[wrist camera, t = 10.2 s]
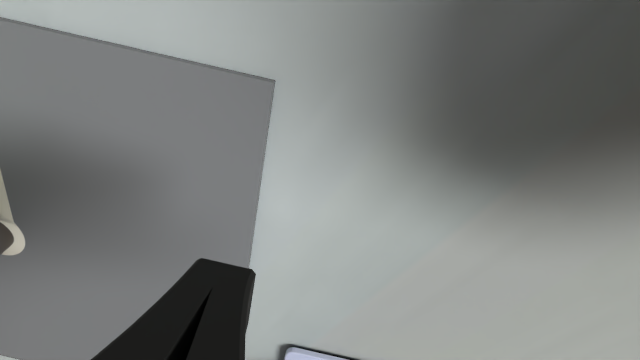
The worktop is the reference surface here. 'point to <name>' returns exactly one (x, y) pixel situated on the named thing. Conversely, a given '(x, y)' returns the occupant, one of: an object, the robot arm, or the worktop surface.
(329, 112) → the worktop surface
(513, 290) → the worktop surface
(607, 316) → the worktop surface
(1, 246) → the walnut fence section
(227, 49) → the worktop surface
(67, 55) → the card
